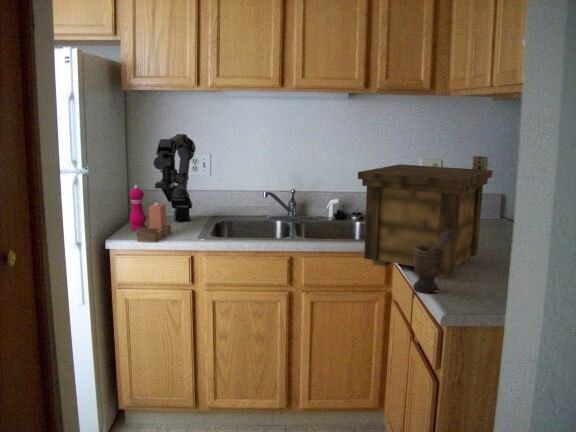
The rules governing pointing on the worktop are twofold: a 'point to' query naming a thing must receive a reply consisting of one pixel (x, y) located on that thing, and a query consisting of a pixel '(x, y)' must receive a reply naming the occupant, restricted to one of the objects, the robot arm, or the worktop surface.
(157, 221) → the salmon orange block
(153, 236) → the brown wooden box
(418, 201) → the crate
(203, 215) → the worktop surface
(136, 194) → the pepper mill
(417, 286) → the mortar and pestle
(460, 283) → the worktop surface
